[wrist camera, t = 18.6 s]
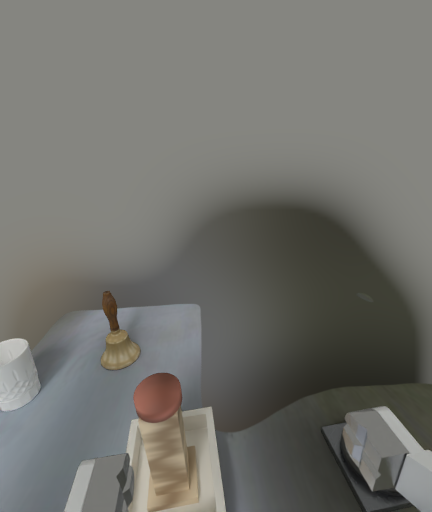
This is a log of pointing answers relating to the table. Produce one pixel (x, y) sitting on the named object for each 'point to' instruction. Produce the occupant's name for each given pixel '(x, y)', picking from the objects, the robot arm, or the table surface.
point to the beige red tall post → (166, 443)
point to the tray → (207, 462)
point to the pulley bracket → (361, 476)
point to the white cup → (17, 375)
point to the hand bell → (117, 340)
